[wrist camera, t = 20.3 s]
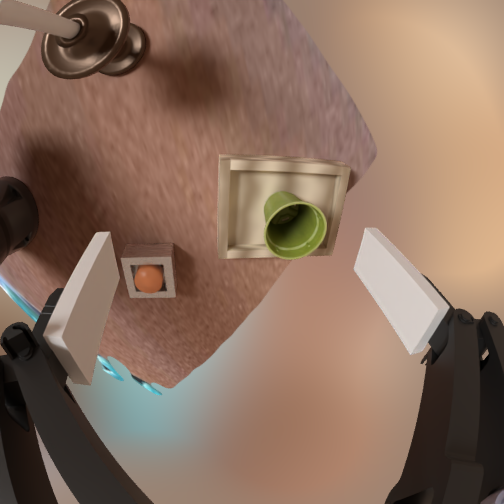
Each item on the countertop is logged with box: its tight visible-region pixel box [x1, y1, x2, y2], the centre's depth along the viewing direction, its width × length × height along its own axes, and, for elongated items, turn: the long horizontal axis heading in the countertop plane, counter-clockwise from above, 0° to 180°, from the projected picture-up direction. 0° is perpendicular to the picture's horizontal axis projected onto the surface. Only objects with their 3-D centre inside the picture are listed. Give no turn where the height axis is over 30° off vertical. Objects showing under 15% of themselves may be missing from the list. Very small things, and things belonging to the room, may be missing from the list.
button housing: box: [121, 243, 177, 298], centre depth 49 cm, size 9×9×4 cm
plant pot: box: [264, 191, 327, 260], centre depth 43 cm, size 9×9×9 cm
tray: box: [217, 154, 351, 259], centre depth 47 cm, size 21×17×4 cm
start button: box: [134, 264, 164, 293], centre depth 48 cm, size 5×5×3 cm
